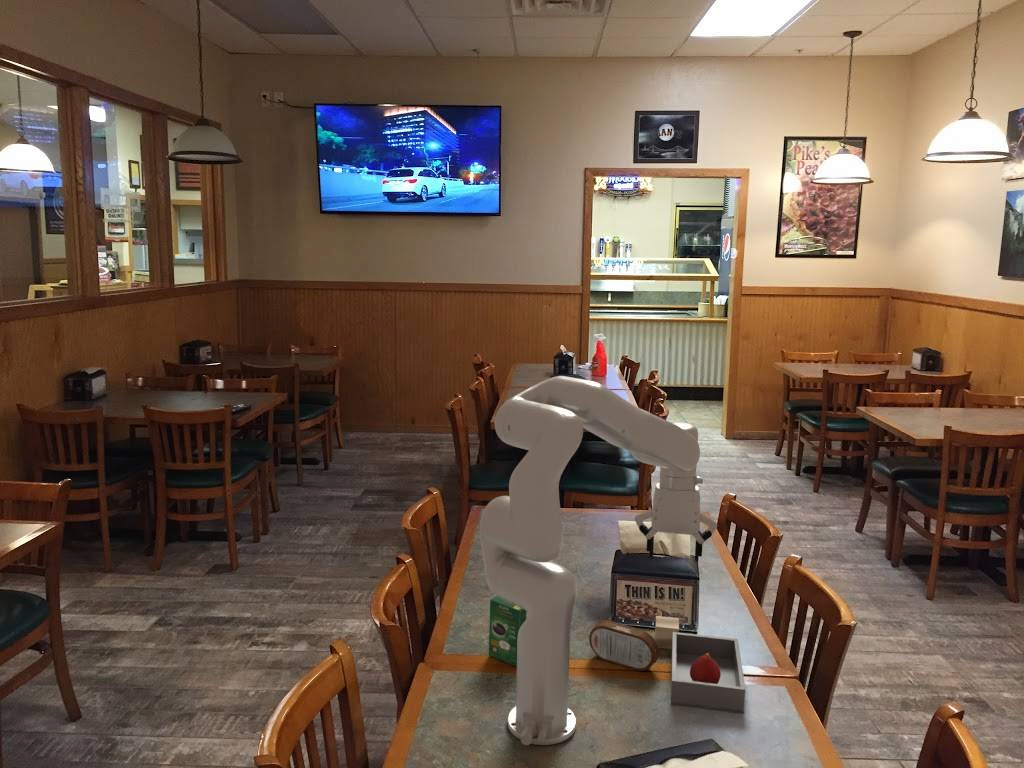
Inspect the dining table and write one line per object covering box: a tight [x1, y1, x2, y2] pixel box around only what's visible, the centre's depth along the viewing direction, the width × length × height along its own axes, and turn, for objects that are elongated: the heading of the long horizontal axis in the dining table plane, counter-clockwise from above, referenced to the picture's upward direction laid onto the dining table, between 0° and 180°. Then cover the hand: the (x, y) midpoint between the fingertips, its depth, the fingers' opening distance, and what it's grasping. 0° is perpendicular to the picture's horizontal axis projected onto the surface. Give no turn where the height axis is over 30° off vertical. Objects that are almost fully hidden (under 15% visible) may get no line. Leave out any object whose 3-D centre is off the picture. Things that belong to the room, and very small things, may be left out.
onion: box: [690, 653, 721, 684], centre depth 157 cm, size 6×6×8 cm
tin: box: [588, 619, 660, 672], centre depth 167 cm, size 15×3×8 cm, turn 59°
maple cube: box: [654, 615, 680, 650], centre depth 176 cm, size 5×5×5 cm
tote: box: [670, 632, 746, 715], centre depth 161 cm, size 20×14×5 cm
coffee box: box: [488, 595, 527, 668], centre depth 168 cm, size 8×3×13 cm, turn 54°
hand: (673, 556), depth 172 cm, fingers open, 9 cm apart
